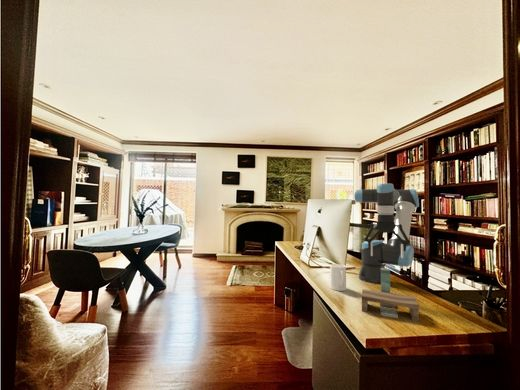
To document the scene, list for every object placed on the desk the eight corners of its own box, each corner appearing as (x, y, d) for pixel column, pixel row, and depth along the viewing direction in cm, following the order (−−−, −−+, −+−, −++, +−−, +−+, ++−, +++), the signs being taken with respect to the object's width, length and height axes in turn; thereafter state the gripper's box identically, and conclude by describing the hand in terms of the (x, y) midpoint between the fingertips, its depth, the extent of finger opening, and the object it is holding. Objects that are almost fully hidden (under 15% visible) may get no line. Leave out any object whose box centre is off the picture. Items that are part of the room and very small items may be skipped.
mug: (350, 293, 121) (350, 269, 121) (333, 293, 121) (333, 268, 122) (344, 286, 132) (343, 263, 133) (328, 285, 133) (328, 263, 134)
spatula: (378, 291, 124) (378, 267, 125) (392, 293, 122) (391, 269, 122) (379, 305, 106) (379, 277, 107) (395, 308, 104) (395, 279, 104)
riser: (362, 302, 109) (362, 289, 109) (414, 311, 101) (414, 296, 101) (361, 311, 100) (361, 296, 100) (418, 321, 92) (418, 305, 92)
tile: (380, 310, 102) (380, 306, 102) (396, 313, 99) (396, 309, 100) (380, 316, 97) (380, 312, 97) (397, 319, 94) (397, 315, 94)
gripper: (358, 214, 123) (359, 255, 123) (416, 214, 113) (417, 260, 113) (359, 213, 130) (359, 253, 129) (413, 214, 120) (414, 257, 119)
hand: (386, 256), depth 121 cm, fingers open, 13 cm apart
